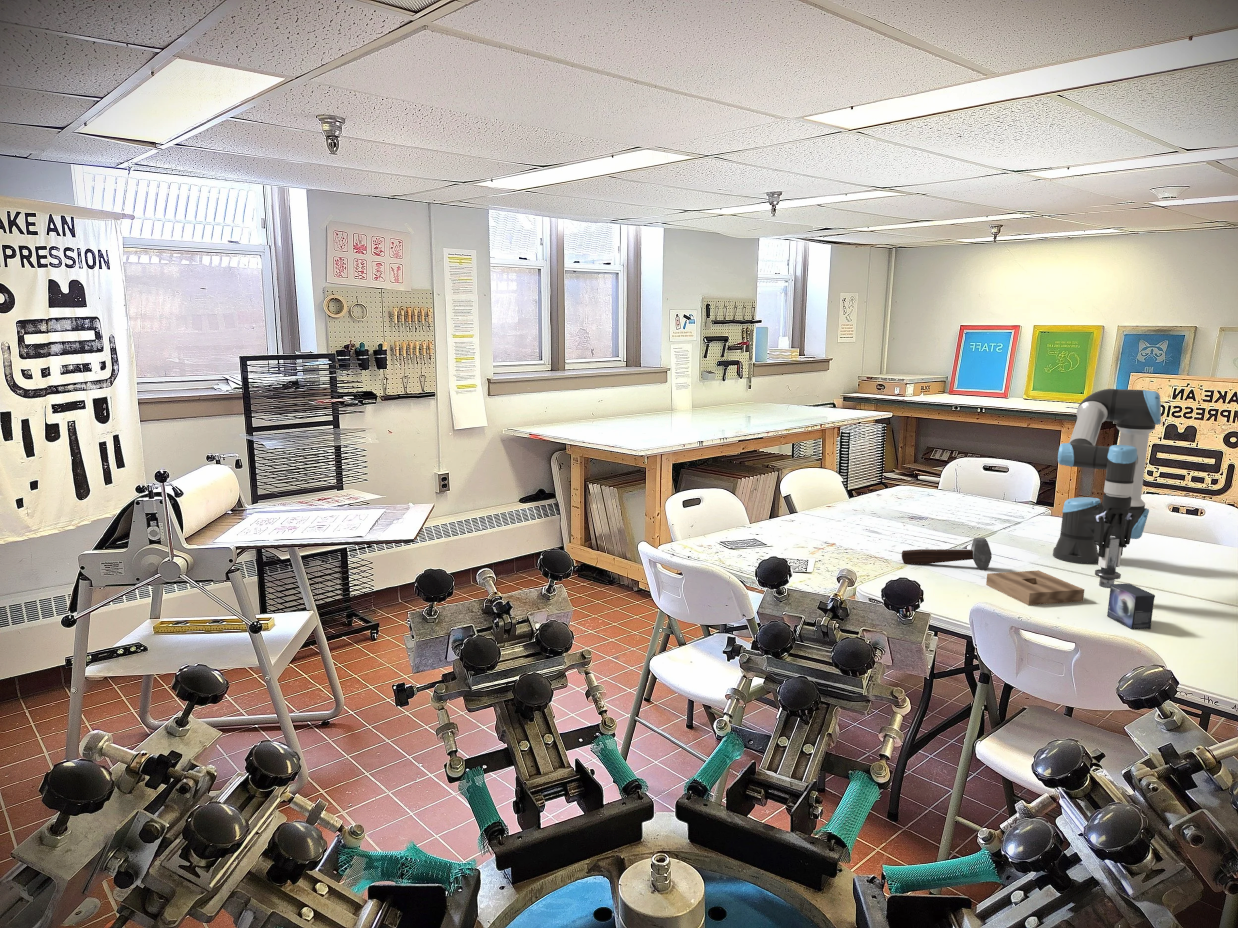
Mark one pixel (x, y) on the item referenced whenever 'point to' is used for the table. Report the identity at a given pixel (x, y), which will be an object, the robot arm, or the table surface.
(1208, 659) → the table surface
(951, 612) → the table surface
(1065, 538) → the robot arm
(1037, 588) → the socket plate
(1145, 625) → the small box
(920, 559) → the hammer
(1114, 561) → the steel peg
